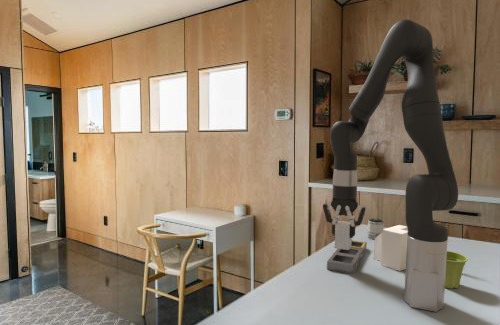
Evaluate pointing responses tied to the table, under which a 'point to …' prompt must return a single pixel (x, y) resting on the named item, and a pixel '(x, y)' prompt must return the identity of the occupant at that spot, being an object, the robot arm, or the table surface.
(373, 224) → the camera lens
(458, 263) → the plant pot
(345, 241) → the pale grey square box
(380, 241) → the white angular block
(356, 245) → the rail
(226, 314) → the table surface
